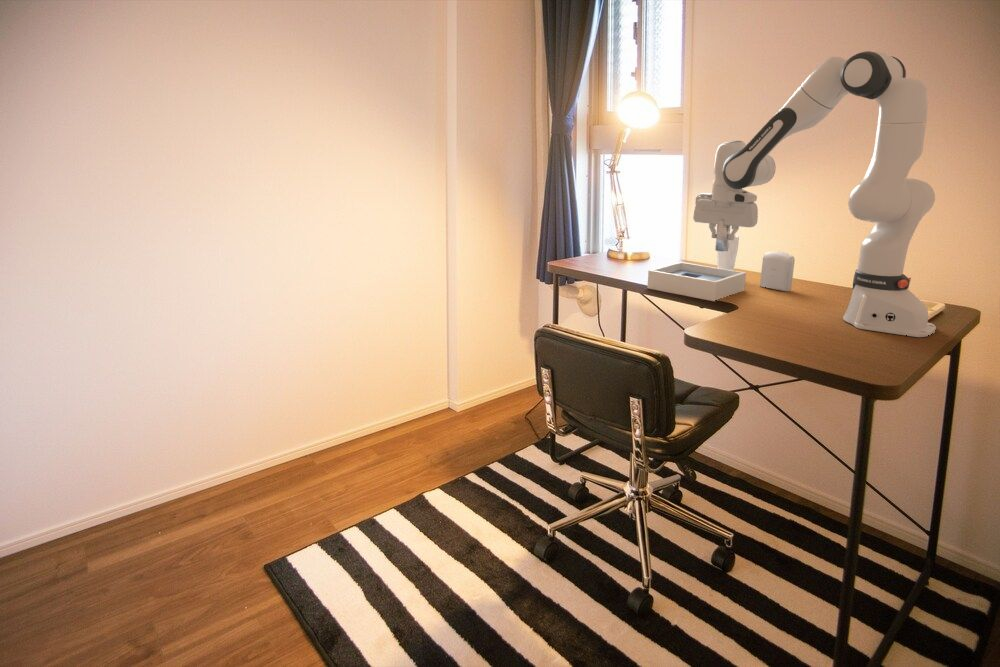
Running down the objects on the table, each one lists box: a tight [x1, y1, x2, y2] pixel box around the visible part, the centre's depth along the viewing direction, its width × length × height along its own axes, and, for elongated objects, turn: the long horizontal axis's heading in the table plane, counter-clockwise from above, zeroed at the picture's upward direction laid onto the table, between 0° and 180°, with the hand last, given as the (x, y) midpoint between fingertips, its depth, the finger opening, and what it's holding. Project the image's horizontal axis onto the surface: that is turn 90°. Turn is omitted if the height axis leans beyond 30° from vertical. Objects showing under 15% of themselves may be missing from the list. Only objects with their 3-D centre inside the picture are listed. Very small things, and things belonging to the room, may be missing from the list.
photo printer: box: [759, 250, 796, 292], centre depth 234 cm, size 10×4×12 cm, turn 39°
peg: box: [714, 219, 731, 252], centre depth 226 cm, size 4×4×10 cm
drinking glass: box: [716, 234, 740, 271], centre depth 247 cm, size 7×7×15 cm
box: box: [646, 261, 747, 302], centre depth 233 cm, size 24×20×6 cm
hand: (722, 238), depth 226 cm, fingers closed on peg, 4 cm apart
